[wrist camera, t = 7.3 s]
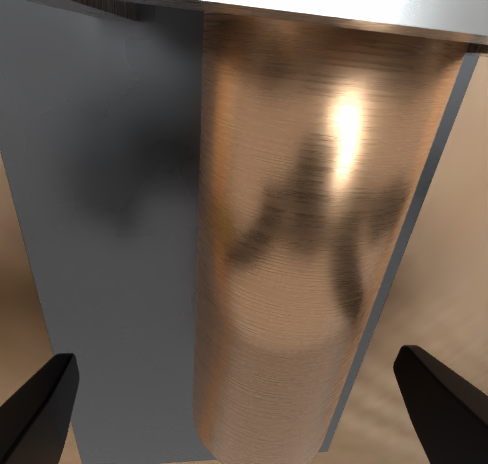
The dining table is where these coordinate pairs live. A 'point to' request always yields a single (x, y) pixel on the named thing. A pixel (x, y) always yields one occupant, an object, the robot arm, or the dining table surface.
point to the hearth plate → (127, 213)
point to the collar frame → (329, 14)
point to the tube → (299, 216)
